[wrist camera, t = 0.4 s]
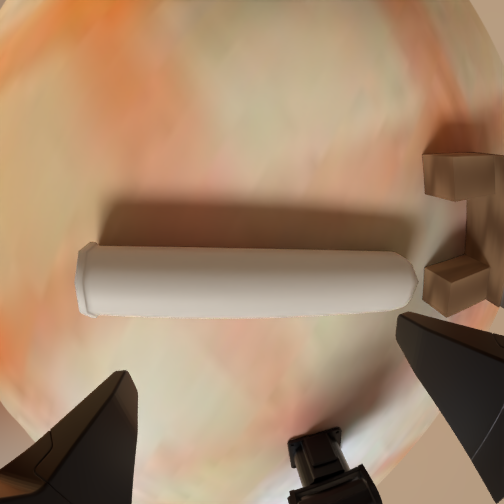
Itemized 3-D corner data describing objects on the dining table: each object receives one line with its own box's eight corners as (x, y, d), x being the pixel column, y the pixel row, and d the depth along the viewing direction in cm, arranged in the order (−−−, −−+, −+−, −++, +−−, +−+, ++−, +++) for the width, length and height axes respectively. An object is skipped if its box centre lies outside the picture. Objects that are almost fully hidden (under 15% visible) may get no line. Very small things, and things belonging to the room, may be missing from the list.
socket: (470, 281, 27) (510, 305, 21) (422, 299, 26) (463, 331, 20) (473, 152, 23) (522, 158, 16) (422, 154, 22) (476, 159, 16)
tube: (429, 247, 21) (74, 239, 17) (426, 316, 20) (76, 324, 16) (392, 249, 26) (100, 243, 22) (390, 307, 26) (101, 311, 22)
